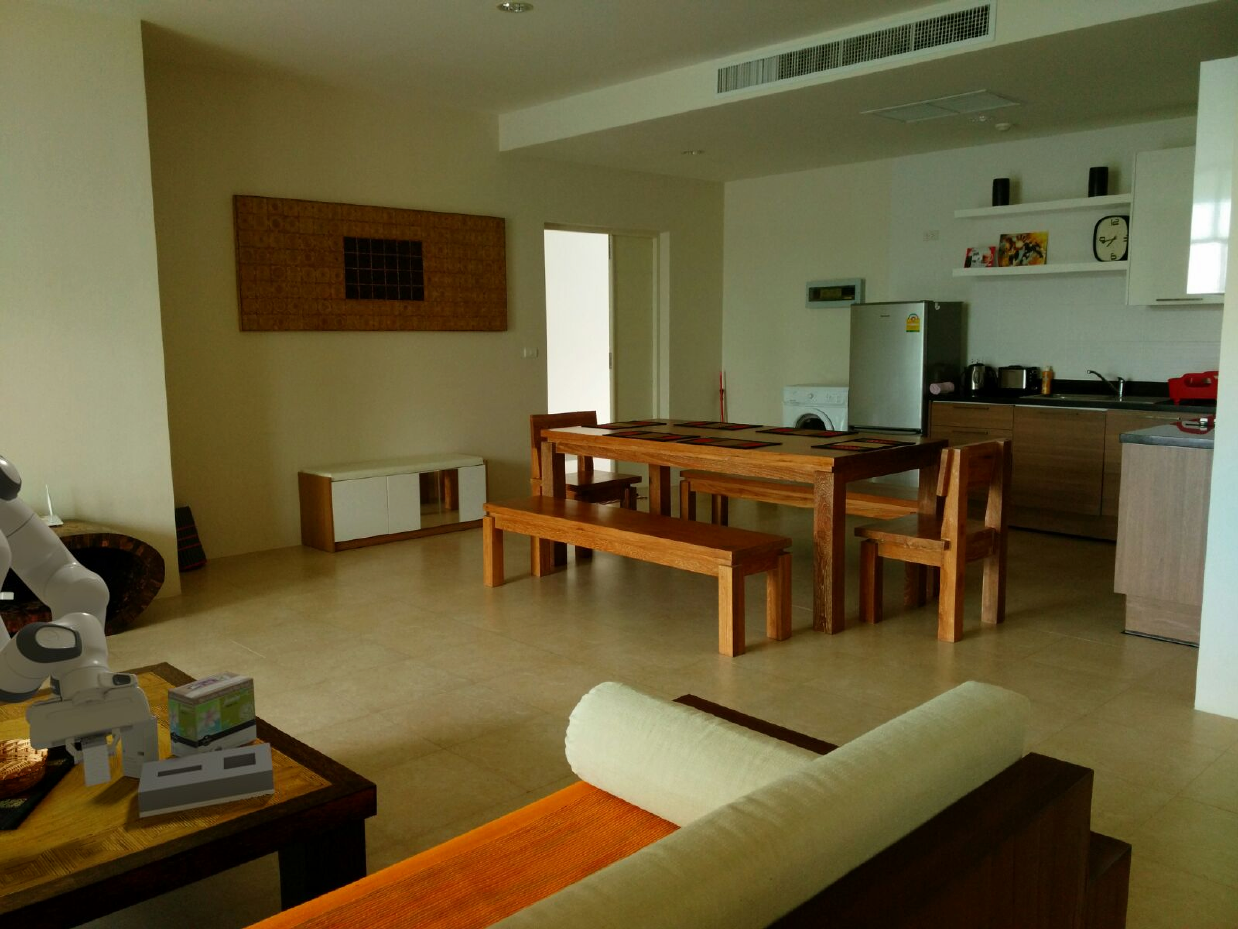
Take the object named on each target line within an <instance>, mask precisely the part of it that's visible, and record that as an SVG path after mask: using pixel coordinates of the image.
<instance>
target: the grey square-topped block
mask: <svg viewBox="0 0 1238 929" xmlns="http://www.w3.org/2000/svg"><path fill="white" fill-rule="evenodd" d="M80 745H81V750H82V751H83V760H84V762H83V770H84V780H85V786H86V787H90V786H95V785H100V784H104V783H108V782H111V780H112V779H111V778H112V777H111V767H110V760H109V759H110V758H109V757H108V749H107V745H108V739H107V736H106V733H100V734H96V735H91V736H86V737H81V742H80Z"/></svg>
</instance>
